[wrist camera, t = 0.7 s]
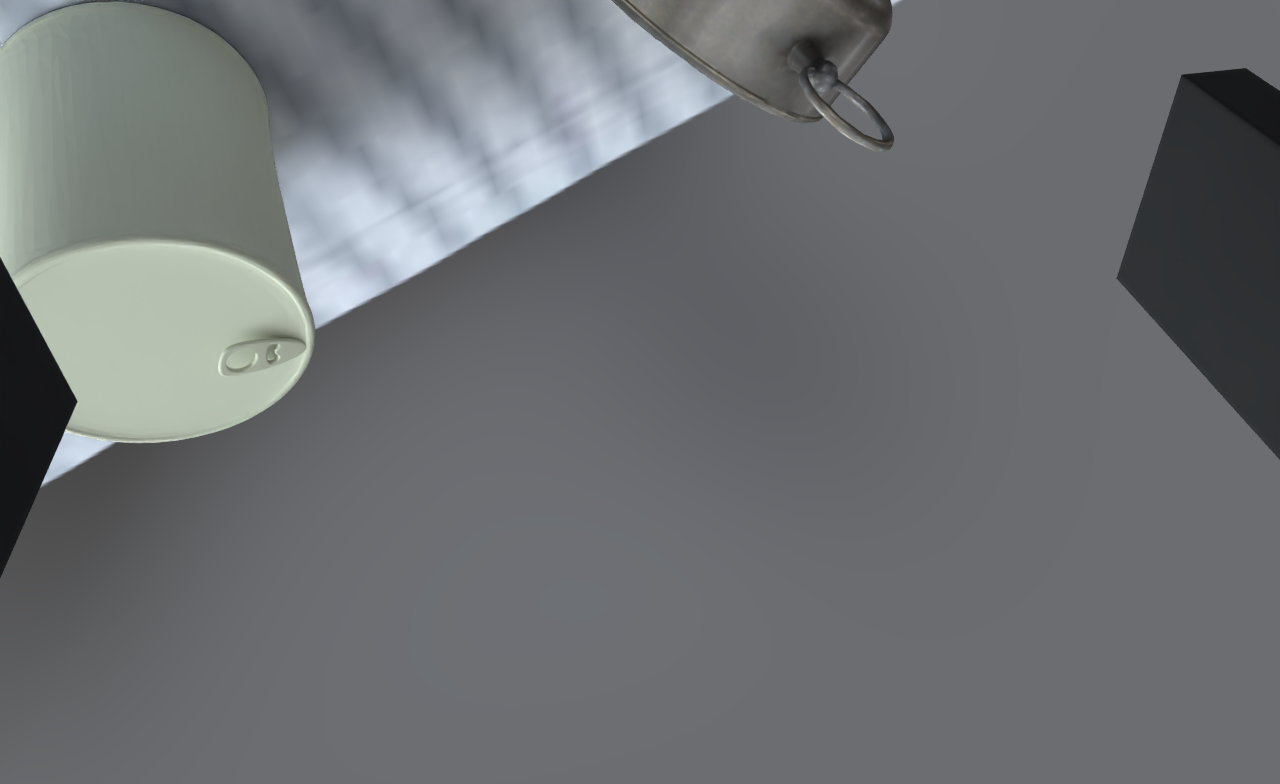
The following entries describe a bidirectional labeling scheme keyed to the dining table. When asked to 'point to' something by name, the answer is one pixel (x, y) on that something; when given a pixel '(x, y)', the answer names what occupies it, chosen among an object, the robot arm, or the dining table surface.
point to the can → (148, 222)
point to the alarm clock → (777, 51)
